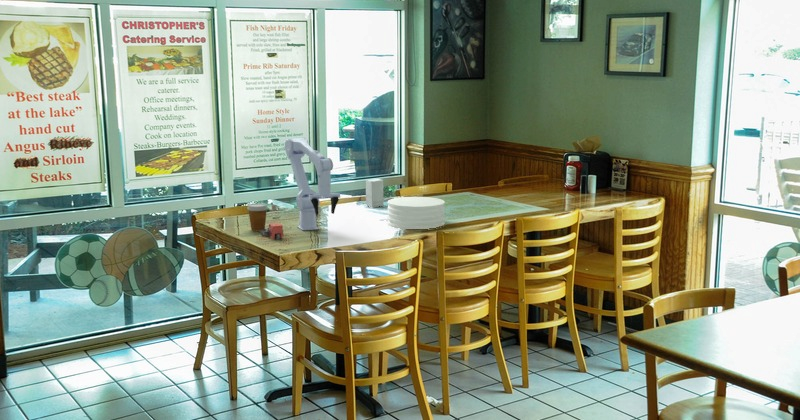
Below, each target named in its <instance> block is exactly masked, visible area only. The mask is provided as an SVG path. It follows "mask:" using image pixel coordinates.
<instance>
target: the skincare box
mask: <svg viewBox="0 0 800 420" xmlns="http://www.w3.org/2000/svg"><path fill="white" fill-rule="evenodd" d="M384 199H385V198H384V179H380V178H372V179H366V180H365V201H366V202H365V206H366V205H367V206H370V207H369V208H371V207H374V208H379V206H380V207H384ZM367 206H366V207H367Z"/></svg>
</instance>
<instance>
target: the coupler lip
mask: <svg viewBox="0 0 800 420" xmlns="http://www.w3.org/2000/svg"><path fill="white" fill-rule="evenodd" d="M260 234H261V235H263V237H267V236H269V227H267V228H265V229H261V231H260ZM269 237H270V236H269ZM275 240H281V239H280V234H275Z"/></svg>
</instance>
